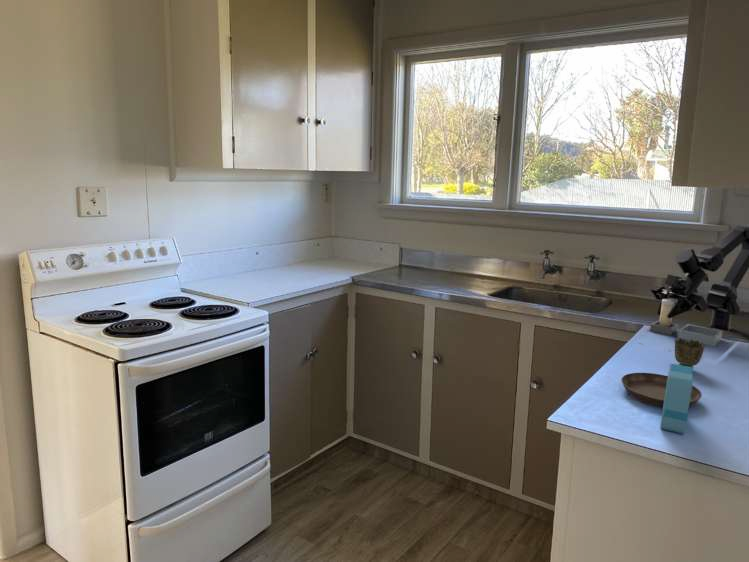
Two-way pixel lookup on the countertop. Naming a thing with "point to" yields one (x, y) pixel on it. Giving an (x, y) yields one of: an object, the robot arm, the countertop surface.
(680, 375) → the data package
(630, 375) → the plant saucer
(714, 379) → the countertop surface
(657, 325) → the tray
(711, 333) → the tray
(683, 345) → the cup
